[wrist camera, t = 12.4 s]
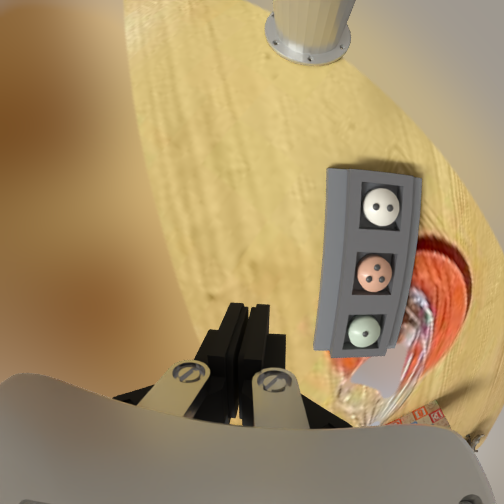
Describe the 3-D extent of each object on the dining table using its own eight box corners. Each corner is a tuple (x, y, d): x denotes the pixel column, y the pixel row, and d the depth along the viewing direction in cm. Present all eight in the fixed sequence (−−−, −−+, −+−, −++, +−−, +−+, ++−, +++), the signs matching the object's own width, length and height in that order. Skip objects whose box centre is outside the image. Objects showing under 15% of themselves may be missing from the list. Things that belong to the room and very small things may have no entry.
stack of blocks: (355, 449, 48) (361, 488, 36) (348, 437, 47) (355, 480, 35) (436, 412, 44) (454, 448, 32) (436, 398, 42) (455, 436, 31)
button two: (362, 186, 33) (366, 186, 31) (394, 189, 32) (400, 190, 30) (360, 222, 34) (364, 225, 32) (392, 224, 34) (398, 227, 32)
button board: (326, 168, 35) (330, 167, 31) (417, 178, 33) (428, 178, 30) (313, 345, 41) (314, 357, 38) (392, 343, 40) (398, 354, 37)
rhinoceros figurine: (444, 468, 47) (464, 482, 33) (442, 437, 52) (465, 447, 39) (462, 457, 46) (484, 468, 33) (461, 426, 52) (485, 434, 38)
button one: (349, 313, 37) (352, 320, 35) (379, 312, 37) (383, 319, 35) (344, 340, 39) (347, 348, 37) (373, 339, 38) (376, 347, 36)
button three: (357, 253, 35) (361, 257, 33) (389, 254, 35) (394, 258, 33) (353, 286, 36) (357, 292, 34) (384, 286, 36) (389, 292, 34)
